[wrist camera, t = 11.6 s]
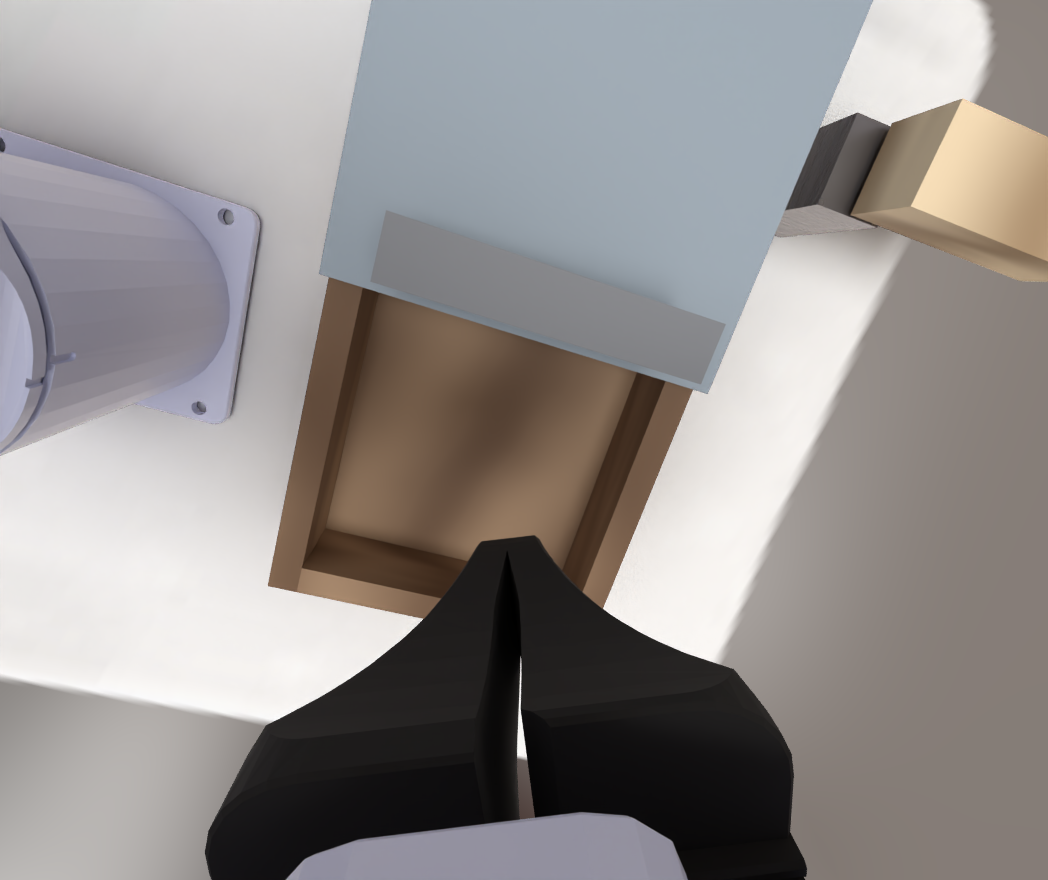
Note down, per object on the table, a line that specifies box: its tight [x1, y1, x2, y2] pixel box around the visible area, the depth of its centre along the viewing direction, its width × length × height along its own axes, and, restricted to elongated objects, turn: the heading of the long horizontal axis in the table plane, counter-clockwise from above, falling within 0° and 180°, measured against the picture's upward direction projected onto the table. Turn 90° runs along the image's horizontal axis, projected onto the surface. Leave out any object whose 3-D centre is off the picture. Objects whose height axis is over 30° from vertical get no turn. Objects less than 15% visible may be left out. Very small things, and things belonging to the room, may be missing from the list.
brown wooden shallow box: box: [268, 277, 693, 619], centre depth 19 cm, size 12×16×4 cm
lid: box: [319, 0, 873, 394], centre depth 12 cm, size 12×16×4 cm
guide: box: [775, 113, 890, 237], centre depth 17 cm, size 2×2×5 cm
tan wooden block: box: [851, 99, 1048, 282], centre depth 14 cm, size 6×2×2 cm, turn 72°
